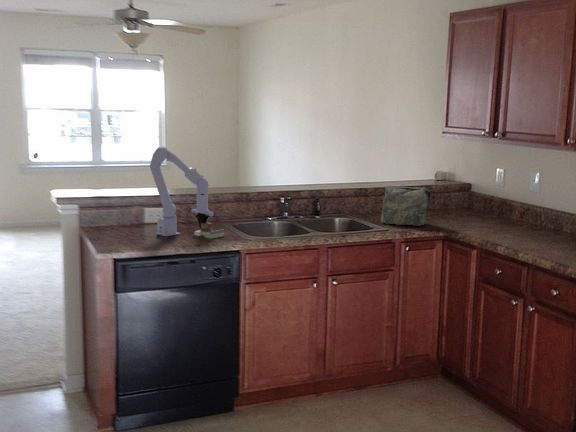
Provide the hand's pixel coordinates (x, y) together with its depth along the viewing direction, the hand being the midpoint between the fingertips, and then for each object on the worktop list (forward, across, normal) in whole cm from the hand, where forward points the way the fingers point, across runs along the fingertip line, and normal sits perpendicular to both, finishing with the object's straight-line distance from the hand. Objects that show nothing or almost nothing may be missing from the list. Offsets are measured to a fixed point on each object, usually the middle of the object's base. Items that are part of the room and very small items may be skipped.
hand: (202, 228), depth 339 cm
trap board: (+3, -5, 0) cm, 6 cm away
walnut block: (+1, -3, 0) cm, 4 cm away
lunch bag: (+3, -53, -108) cm, 121 cm away
